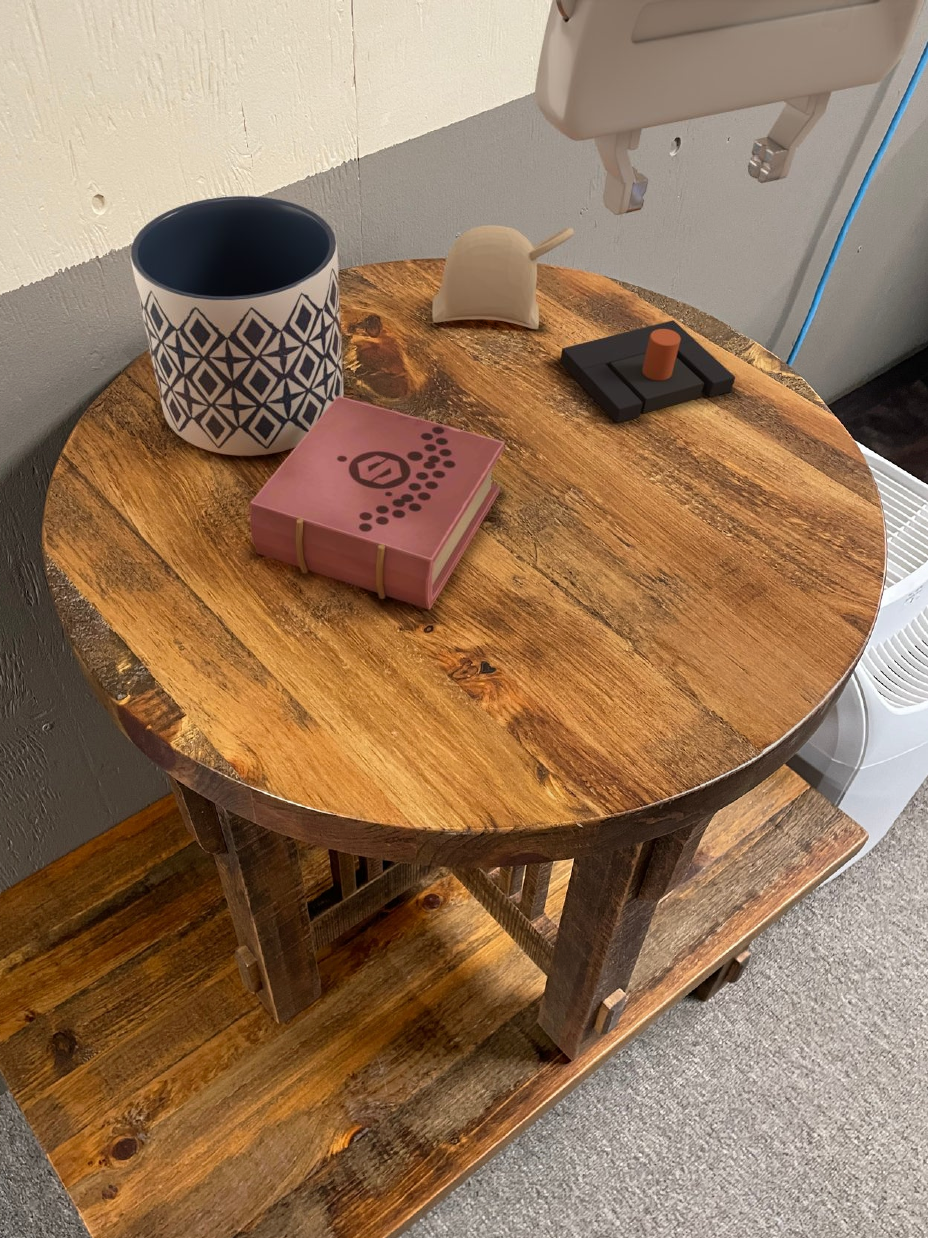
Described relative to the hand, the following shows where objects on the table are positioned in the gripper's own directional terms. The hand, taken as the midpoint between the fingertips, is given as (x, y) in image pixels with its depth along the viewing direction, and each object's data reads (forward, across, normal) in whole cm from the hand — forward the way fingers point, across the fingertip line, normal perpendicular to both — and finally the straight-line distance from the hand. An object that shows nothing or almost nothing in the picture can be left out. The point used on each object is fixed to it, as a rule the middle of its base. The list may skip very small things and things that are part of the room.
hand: (695, 192), depth 55 cm
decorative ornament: (+28, +1, +35) cm, 45 cm away
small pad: (+27, +15, +17) cm, 35 cm away
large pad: (+27, +15, +19) cm, 36 cm away
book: (+27, -15, +10) cm, 33 cm away
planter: (+27, -19, +29) cm, 44 cm away
